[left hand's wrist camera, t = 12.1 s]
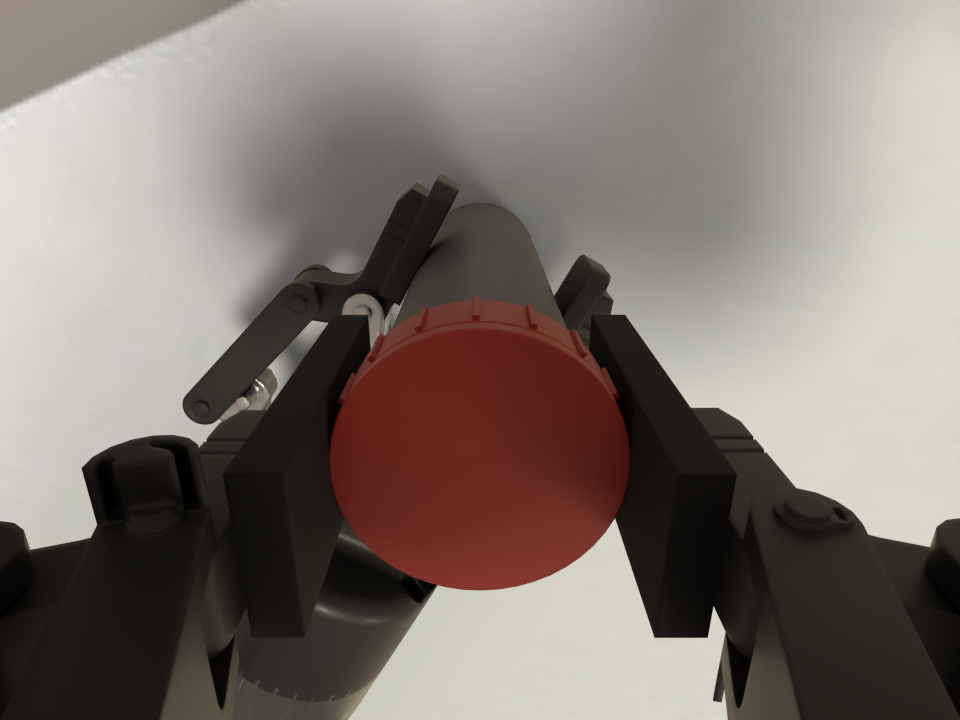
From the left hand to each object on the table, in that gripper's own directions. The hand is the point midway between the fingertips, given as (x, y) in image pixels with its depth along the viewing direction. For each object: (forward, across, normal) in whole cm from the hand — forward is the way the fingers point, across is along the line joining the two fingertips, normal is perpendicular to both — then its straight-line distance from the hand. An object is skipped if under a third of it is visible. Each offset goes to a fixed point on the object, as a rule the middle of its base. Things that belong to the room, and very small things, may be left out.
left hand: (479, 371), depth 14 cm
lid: (-4, 0, 0) cm, 4 cm away
